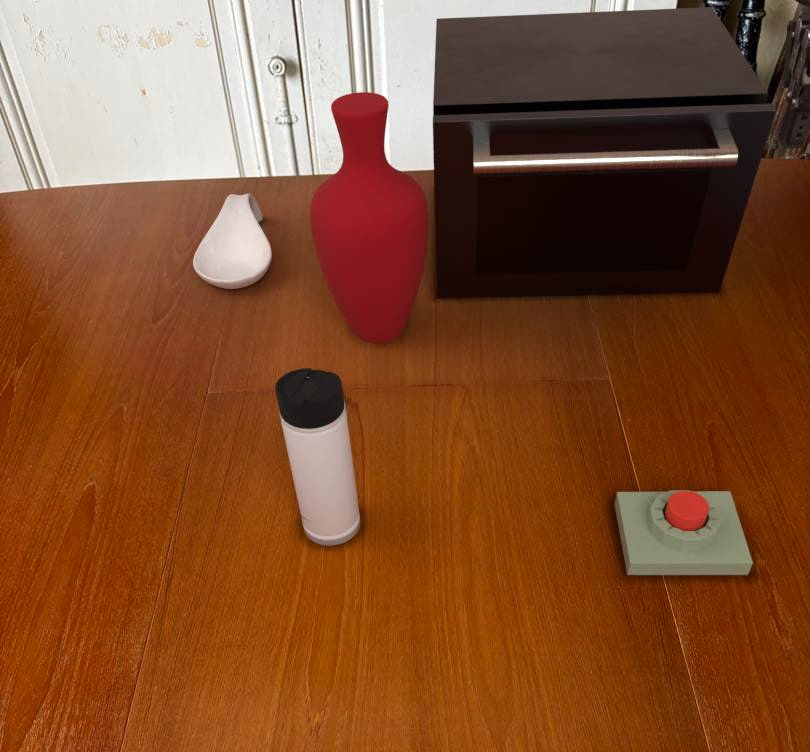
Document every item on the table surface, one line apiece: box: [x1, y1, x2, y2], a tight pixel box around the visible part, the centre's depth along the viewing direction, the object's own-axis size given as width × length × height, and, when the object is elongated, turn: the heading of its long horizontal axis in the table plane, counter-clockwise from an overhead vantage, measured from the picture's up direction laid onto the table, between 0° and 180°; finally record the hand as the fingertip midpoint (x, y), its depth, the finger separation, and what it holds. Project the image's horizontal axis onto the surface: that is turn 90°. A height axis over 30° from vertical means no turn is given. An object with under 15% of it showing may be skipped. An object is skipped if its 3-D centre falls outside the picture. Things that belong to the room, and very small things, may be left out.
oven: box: [432, 6, 769, 116], centre depth 118 cm, size 32×40×26 cm
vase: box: [309, 91, 430, 344], centre depth 102 cm, size 15×15×30 cm
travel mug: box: [274, 367, 361, 547], centre depth 82 cm, size 6×7×20 cm
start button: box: [665, 490, 709, 531], centre depth 82 cm, size 4×4×2 cm
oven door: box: [432, 103, 777, 300], centre depth 105 cm, size 7×40×26 cm, turn 88°
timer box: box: [614, 489, 754, 576], centre depth 84 cm, size 12×10×4 cm
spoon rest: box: [192, 192, 273, 290], centre depth 125 cm, size 24×12×7 cm, turn 2°
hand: (789, 144), depth 81 cm, fingers closed
